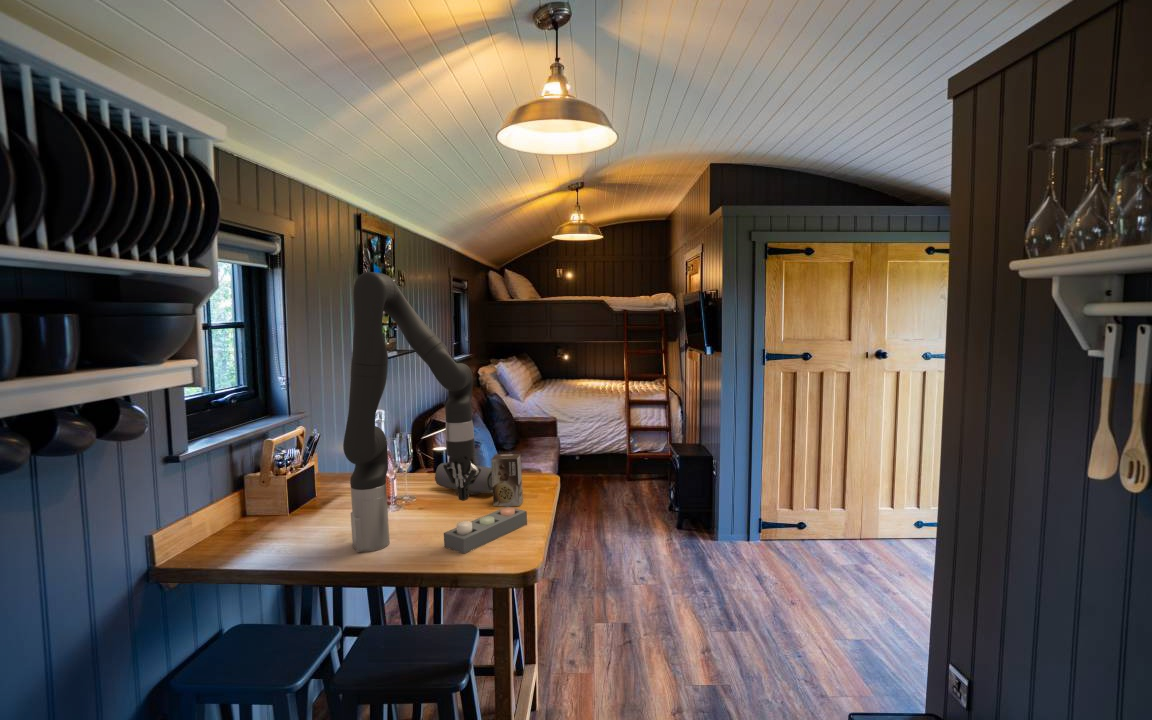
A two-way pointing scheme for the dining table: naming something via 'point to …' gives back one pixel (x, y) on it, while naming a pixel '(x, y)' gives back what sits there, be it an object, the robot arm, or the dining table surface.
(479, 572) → the dining table surface
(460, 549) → the button panel
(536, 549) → the dining table surface
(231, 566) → the dining table surface
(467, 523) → the cream button
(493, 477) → the coffee box
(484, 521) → the sage button
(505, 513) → the terracotta button
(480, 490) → the bluetooth speaker
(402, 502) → the dining table surface
